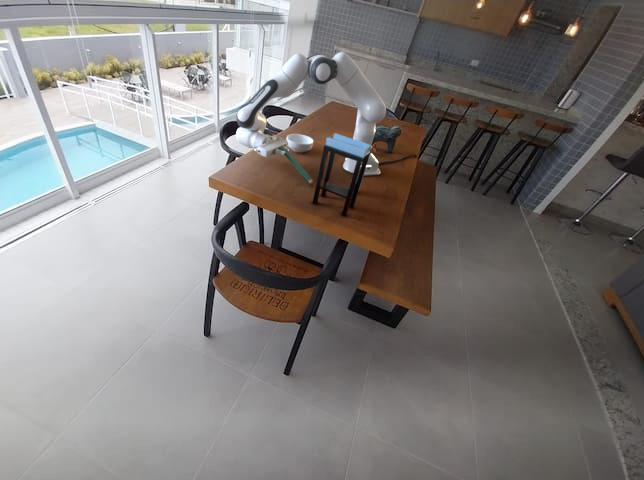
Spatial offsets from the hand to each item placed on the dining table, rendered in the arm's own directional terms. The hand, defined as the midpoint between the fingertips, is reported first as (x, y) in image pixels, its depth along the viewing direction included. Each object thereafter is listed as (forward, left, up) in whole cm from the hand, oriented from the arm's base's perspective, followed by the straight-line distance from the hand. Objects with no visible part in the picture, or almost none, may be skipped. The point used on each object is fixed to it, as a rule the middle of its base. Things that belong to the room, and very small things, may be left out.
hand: (286, 152), depth 153 cm
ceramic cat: (-73, -43, -12) cm, 86 cm away
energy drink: (-34, +16, -12) cm, 40 cm away
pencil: (-5, +4, -5) cm, 8 cm away
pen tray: (-20, +30, +15) cm, 39 cm away
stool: (-20, +30, -12) cm, 37 cm away
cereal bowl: (-14, -34, -12) cm, 39 cm away
